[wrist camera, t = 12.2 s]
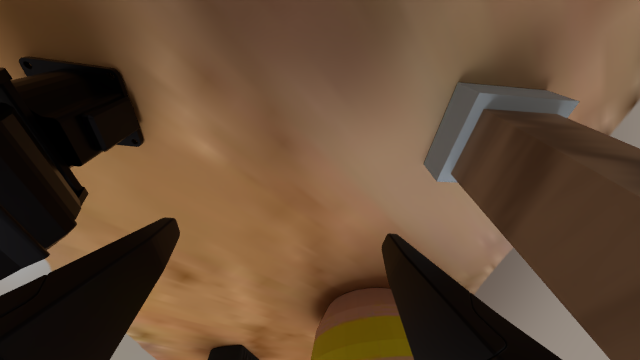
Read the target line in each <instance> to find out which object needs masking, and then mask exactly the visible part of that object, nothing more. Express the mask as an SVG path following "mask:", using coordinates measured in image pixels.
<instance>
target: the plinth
mask: <svg viewBox="0 0 640 360" xmlns="http://www.w3.org/2000/svg"><path fill="white" fill-rule="evenodd" d="M579 102H580V101H577V100H574V99H571V98H568V97H565V96H562V95H559V94H556V93H553V92H550V91H547V90H537V89H526V88H515V87H504V86H493V85H482V84H471V83H460V82H458V83H457V86H456V88H455V91H454V93H453V95H452V98H451V100H450V102H449V105H448V107H447V110H446V112H445V114H444V117H443V119H442V122H441V124H440V126H439V129H438V131H437V133H436V136H435V138H434V141H433V143H432V145H431V148H430V150H429V152H428V155H427V157H426V160H425V162H424V165H425V166H426V168H427V169H428V171H429V172H430V173H431V175H432V176H433V177H434V179H435V180H436V181H439V182H457V181H456V180H455V178H454V177H453V176H452V175H451V172H452V170H453V168H454V166H455V164H456V162H457V160H458V158H459V156H460V154H461V153H462V151H463V149H464V147H465V145H466V143H467V141H468V139H469V137H470V135H471V133H472V131H473V129H474V127H475V125H476V123H477V121H478V119H479V117H480V115H481V113H482V111H483V109H495V110H509V111H523V112H537V113H550V114H558V115H561V116H563V117H565V118H568V116H569V115H570V114H571V112H572V111H573V110H574V108H575V107H576V106H577V104H578V103H579Z"/></svg>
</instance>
